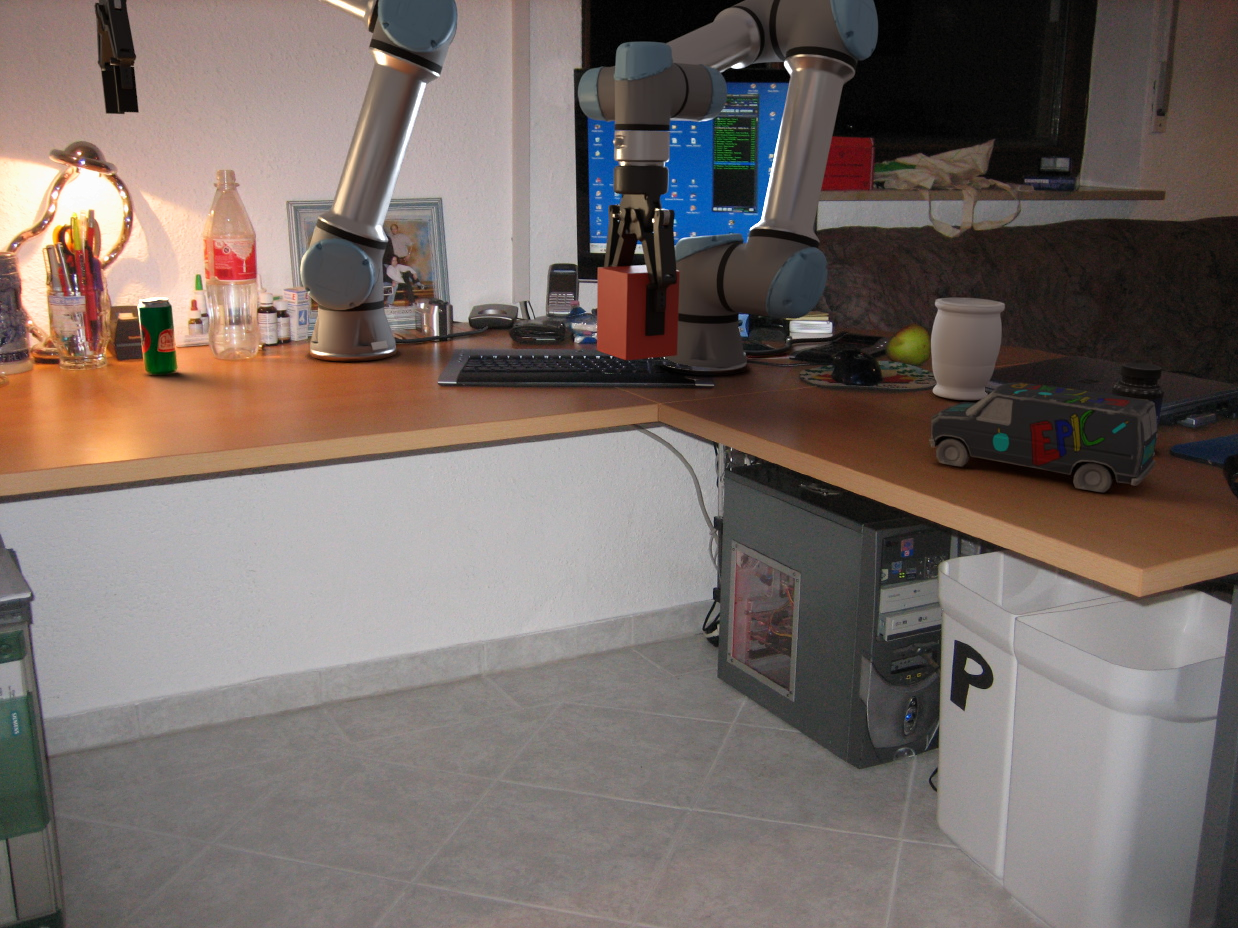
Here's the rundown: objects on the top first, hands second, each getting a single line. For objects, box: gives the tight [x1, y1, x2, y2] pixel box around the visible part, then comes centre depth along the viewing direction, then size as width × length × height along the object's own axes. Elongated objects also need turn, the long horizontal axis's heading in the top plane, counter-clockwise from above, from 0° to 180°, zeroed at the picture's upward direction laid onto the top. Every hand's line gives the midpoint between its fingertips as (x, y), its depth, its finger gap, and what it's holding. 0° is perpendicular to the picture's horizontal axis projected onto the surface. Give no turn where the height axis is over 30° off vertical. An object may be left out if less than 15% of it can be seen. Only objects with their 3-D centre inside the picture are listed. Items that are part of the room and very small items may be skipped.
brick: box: [596, 264, 680, 361], centre depth 151 cm, size 8×8×12 cm
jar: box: [930, 297, 1006, 401], centre depth 168 cm, size 11×10×15 cm
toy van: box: [928, 382, 1159, 493], centre depth 129 cm, size 11×25×10 cm, turn 54°
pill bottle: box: [1110, 362, 1165, 431], centre depth 139 cm, size 6×6×11 cm
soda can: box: [137, 297, 179, 376], centre depth 174 cm, size 5×5×12 cm
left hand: (121, 113), depth 166 cm, fingers open, 13 cm apart
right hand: (637, 330), depth 152 cm, fingers closed on brick, 8 cm apart
